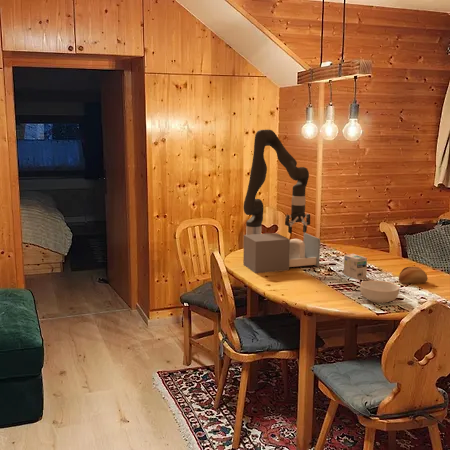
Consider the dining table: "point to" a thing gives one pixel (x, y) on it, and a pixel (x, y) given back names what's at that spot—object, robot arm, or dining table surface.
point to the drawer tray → (308, 252)
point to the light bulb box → (355, 266)
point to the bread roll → (412, 275)
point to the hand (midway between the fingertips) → (297, 232)
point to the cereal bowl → (379, 291)
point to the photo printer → (297, 249)
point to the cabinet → (266, 252)
